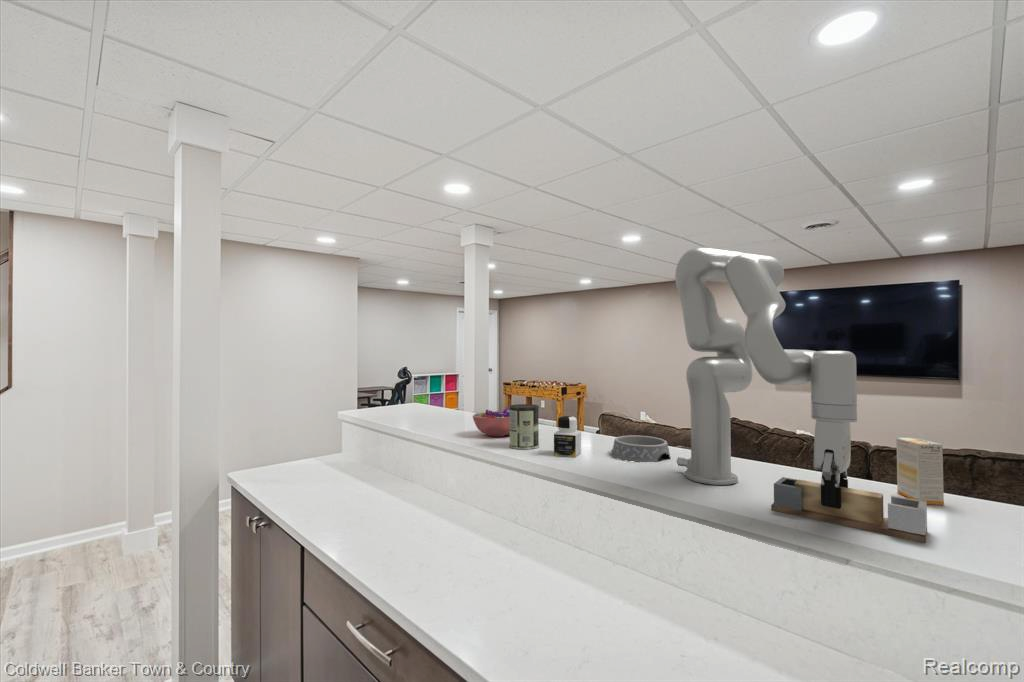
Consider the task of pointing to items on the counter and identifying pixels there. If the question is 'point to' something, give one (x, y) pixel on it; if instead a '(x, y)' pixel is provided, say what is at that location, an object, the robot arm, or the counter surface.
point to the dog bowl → (639, 448)
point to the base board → (854, 523)
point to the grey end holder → (788, 494)
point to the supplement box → (920, 470)
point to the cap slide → (907, 515)
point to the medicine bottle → (567, 437)
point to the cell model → (493, 422)
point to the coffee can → (524, 426)
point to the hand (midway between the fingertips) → (834, 501)
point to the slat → (845, 503)
